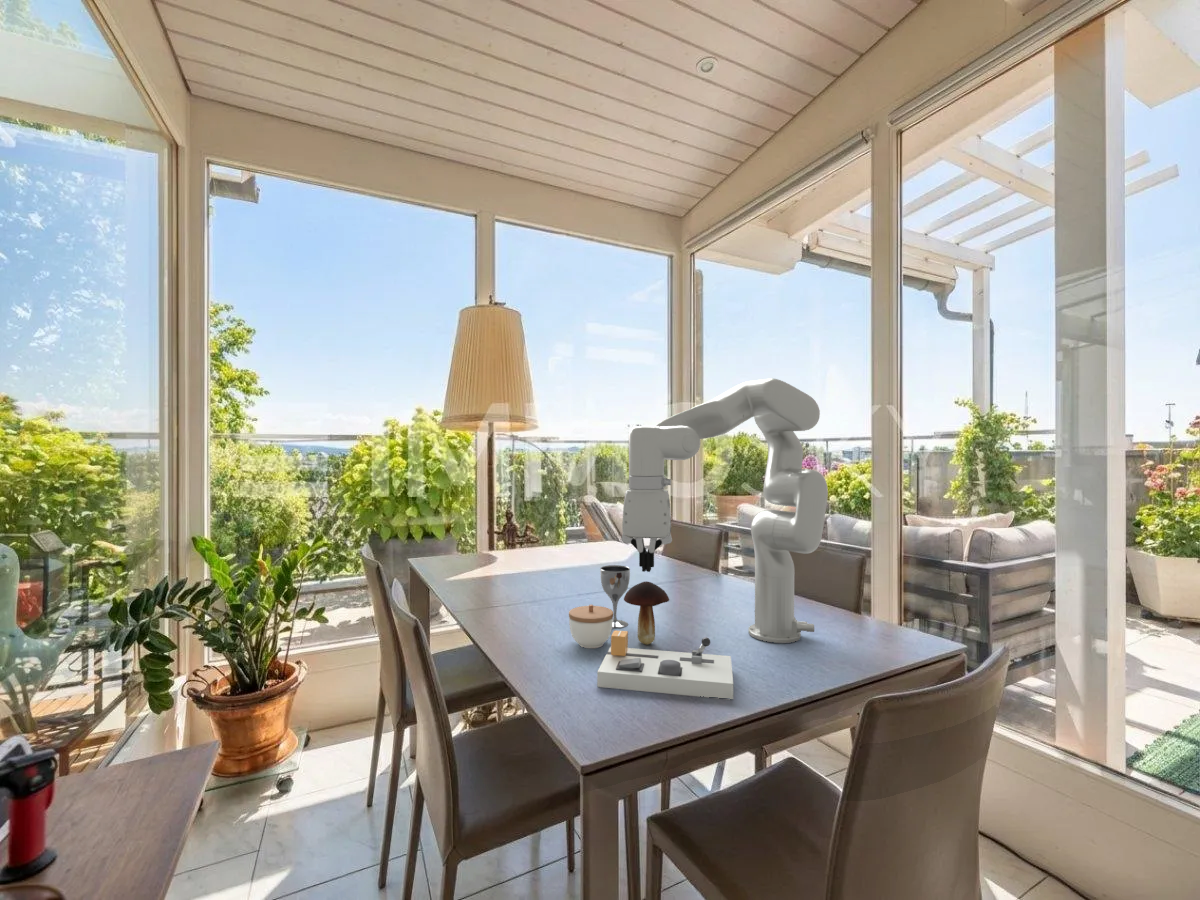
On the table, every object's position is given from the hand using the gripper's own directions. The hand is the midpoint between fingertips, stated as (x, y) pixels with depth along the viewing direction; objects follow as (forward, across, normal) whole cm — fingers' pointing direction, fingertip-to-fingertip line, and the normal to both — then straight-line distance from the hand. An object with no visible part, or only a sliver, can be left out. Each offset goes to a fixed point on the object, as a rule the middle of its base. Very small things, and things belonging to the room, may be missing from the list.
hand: (646, 570), depth 115 cm
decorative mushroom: (+21, +2, -15) cm, 26 cm away
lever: (+17, -10, +1) cm, 20 cm away
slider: (+18, +6, +1) cm, 19 cm away
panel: (+21, -4, +4) cm, 22 cm away
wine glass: (+22, +12, -28) cm, 38 cm away
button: (+21, -5, +7) cm, 22 cm away
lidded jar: (+21, +15, -12) cm, 29 cm away
